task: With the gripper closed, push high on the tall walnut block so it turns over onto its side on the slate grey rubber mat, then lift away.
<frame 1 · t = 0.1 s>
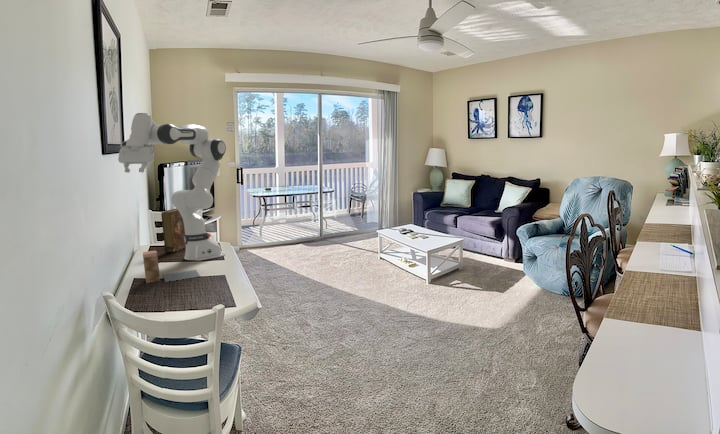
hand: (134, 172, 226), 52 cm above the table, tool tilted 20°, fingers open, 8 cm apart
mat: (181, 276, 231), on the table
walnut block: (152, 280, 226), on the table
book: (177, 250, 290), on the table
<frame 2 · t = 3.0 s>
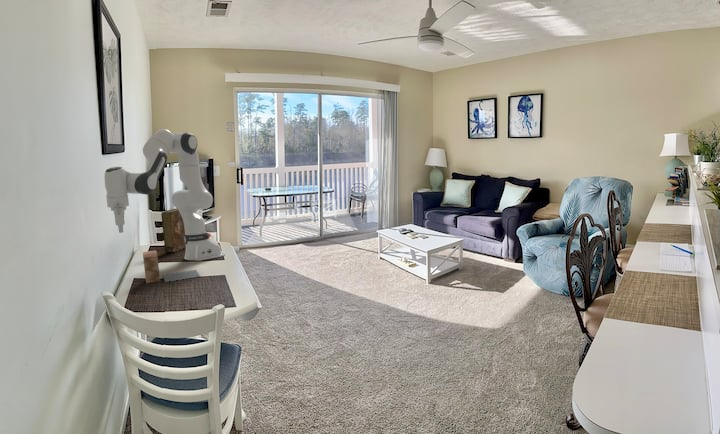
hand: (121, 232, 216), 25 cm above the table, tool pointing down, fingers closed
nothing on the table moved.
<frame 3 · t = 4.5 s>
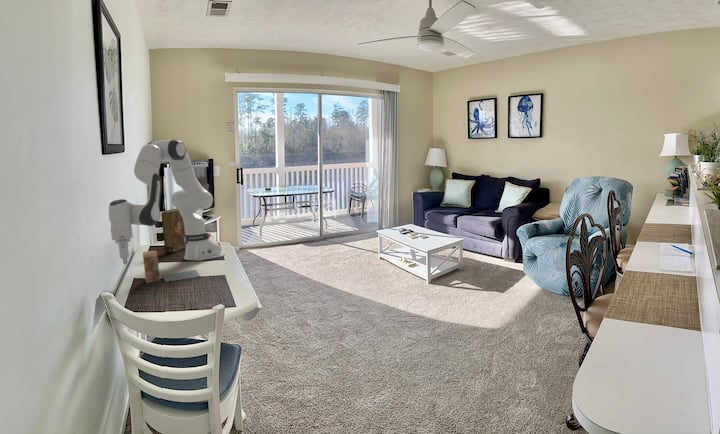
hand: (125, 263, 219), 10 cm above the table, tool pointing down, fingers closed
nothing on the table moved.
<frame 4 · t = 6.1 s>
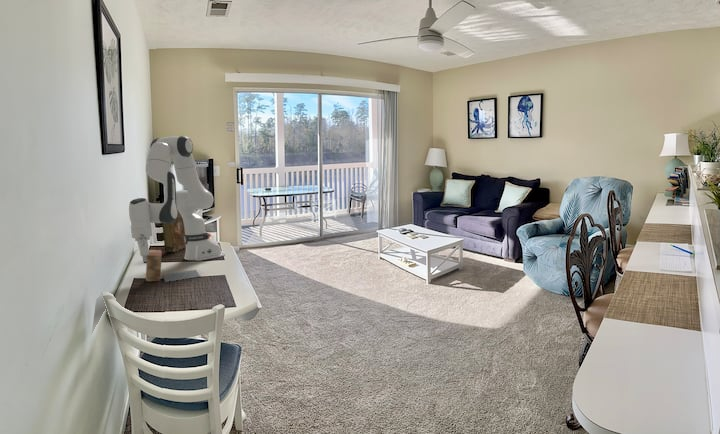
hand: (145, 261, 223), 10 cm above the table, tool pointing down, fingers closed
walnut block: (152, 279, 226), on the table, tilted 9°
everything else where it was.
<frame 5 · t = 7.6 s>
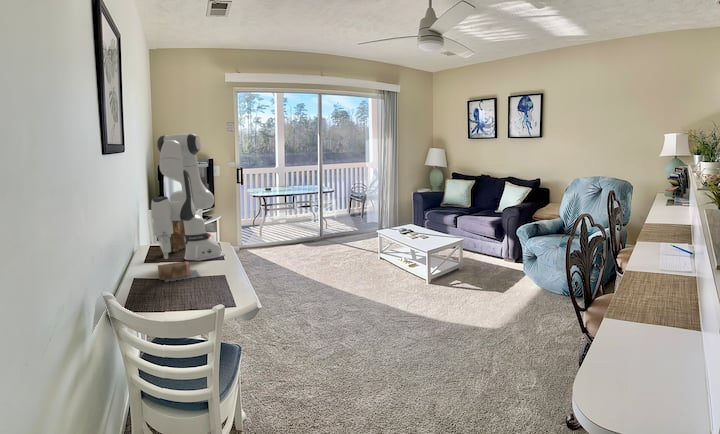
hand: (166, 258, 227), 10 cm above the table, tool pointing down, fingers closed
walnut block: (158, 272, 226), point 3 cm above the table, tilted 90°, touching mat
everything else where it was.
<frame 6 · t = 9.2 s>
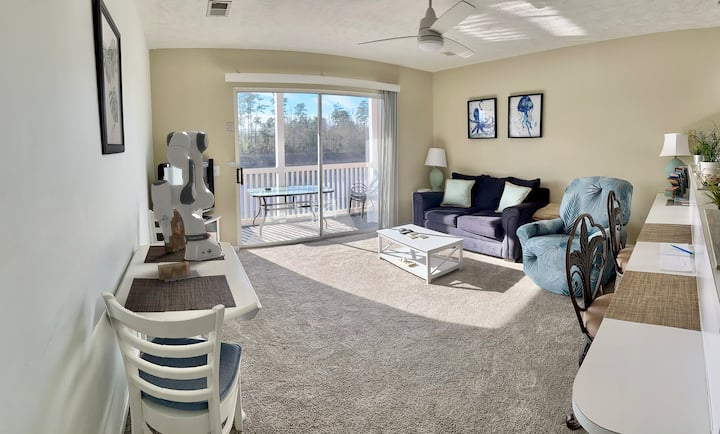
hand: (167, 242, 227), 18 cm above the table, tool pointing down, fingers closed
nothing on the table moved.
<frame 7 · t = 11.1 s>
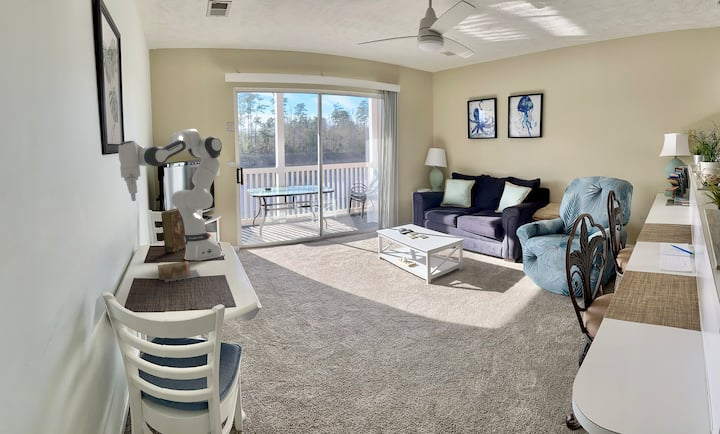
hand: (133, 200, 237), 37 cm above the table, tool pointing down, fingers closed
nothing on the table moved.
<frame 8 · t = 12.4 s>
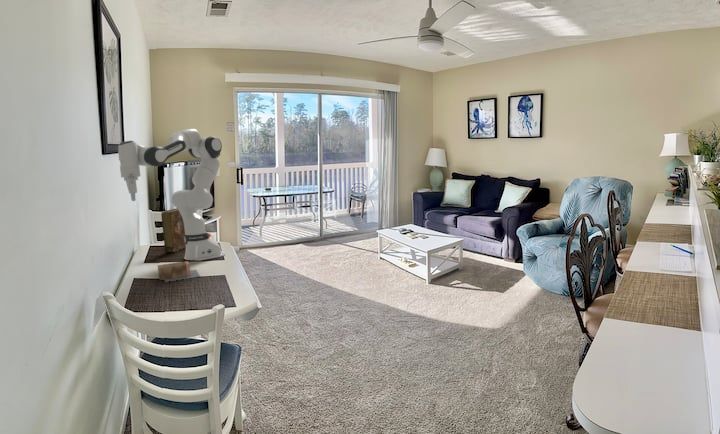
hand: (133, 200, 237), 37 cm above the table, tool pointing down, fingers closed
nothing on the table moved.
at the end: walnut block tilted 90°; walnut block touching mat; walnut block inside the target area (7.0 cm from its centre), point 3.4 cm above the table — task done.
